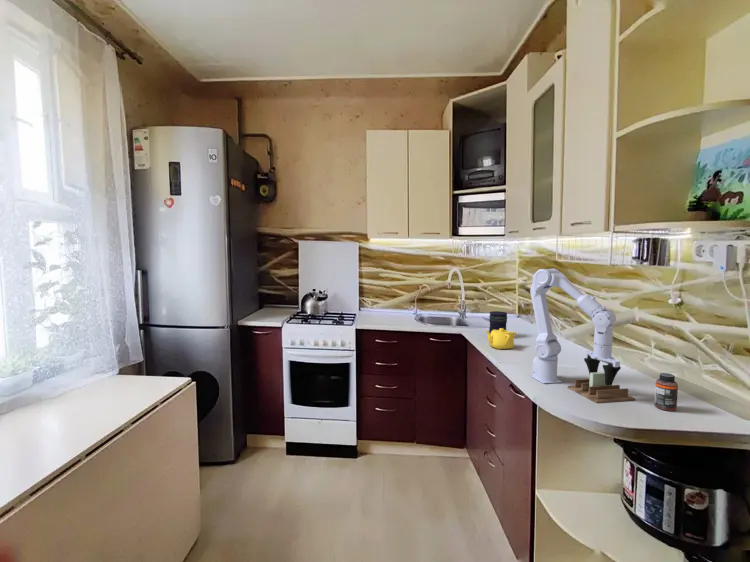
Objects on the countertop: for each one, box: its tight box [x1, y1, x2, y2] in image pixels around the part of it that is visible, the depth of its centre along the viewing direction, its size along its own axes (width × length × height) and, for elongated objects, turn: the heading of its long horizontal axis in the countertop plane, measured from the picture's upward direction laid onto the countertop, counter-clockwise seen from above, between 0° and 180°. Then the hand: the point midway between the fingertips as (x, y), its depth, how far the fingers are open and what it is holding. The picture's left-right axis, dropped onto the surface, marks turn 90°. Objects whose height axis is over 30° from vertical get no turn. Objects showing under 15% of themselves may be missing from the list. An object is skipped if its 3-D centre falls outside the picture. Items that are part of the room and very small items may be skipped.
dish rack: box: [567, 378, 636, 404], centre depth 146 cm, size 15×15×4 cm
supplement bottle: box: [654, 372, 679, 412], centre depth 133 cm, size 6×6×11 cm
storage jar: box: [488, 310, 508, 334], centre depth 236 cm, size 10×10×15 cm
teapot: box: [485, 328, 517, 350], centre depth 213 cm, size 14×13×10 cm
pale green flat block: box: [589, 371, 608, 387], centre depth 146 cm, size 2×8×7 cm, turn 101°
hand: (600, 381), depth 146 cm, fingers open, 7 cm apart
